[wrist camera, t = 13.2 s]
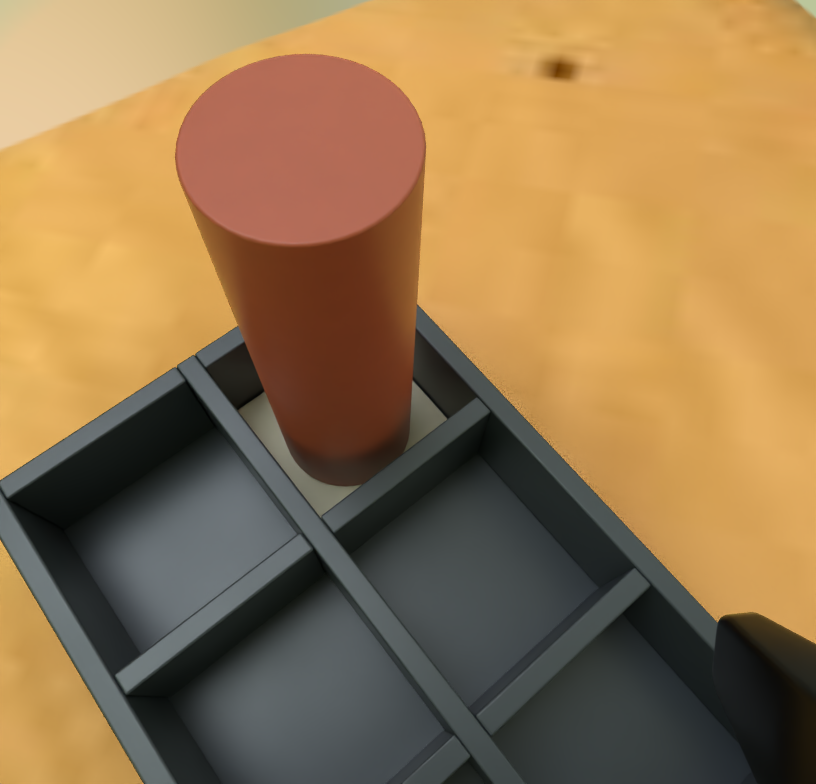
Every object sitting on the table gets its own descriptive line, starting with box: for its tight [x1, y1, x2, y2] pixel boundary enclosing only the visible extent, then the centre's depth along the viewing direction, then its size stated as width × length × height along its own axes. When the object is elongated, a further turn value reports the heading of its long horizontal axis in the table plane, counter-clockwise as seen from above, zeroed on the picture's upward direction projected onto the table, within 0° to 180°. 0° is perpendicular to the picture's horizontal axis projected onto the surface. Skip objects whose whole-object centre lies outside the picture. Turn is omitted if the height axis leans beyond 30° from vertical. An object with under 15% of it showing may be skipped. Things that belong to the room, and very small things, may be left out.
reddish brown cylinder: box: [175, 54, 426, 486], centre depth 17 cm, size 4×4×12 cm
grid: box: [0, 304, 757, 784], centre depth 19 cm, size 13×19×4 cm
